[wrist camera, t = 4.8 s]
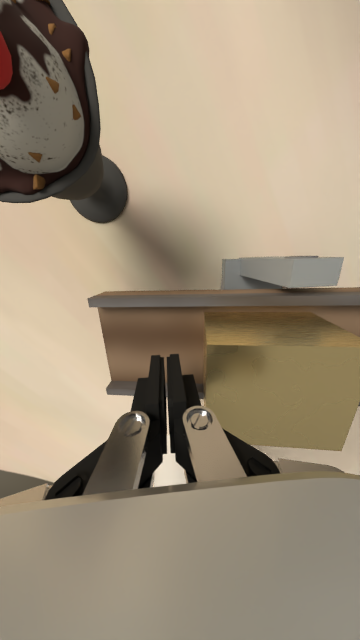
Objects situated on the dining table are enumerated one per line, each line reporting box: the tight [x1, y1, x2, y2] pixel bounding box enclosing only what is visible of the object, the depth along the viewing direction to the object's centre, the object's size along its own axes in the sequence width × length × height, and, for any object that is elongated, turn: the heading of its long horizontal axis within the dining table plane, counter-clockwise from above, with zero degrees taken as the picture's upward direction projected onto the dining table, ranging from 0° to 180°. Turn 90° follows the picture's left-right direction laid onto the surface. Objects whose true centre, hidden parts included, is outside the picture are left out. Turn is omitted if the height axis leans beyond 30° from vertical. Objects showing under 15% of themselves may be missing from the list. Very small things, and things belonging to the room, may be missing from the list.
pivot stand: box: [221, 256, 344, 290], centre depth 16 cm, size 12×6×8 cm, turn 2°
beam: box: [88, 287, 360, 406], centre depth 15 cm, size 8×28×6 cm, turn 92°
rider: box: [203, 312, 360, 451], centre depth 11 cm, size 6×7×5 cm
